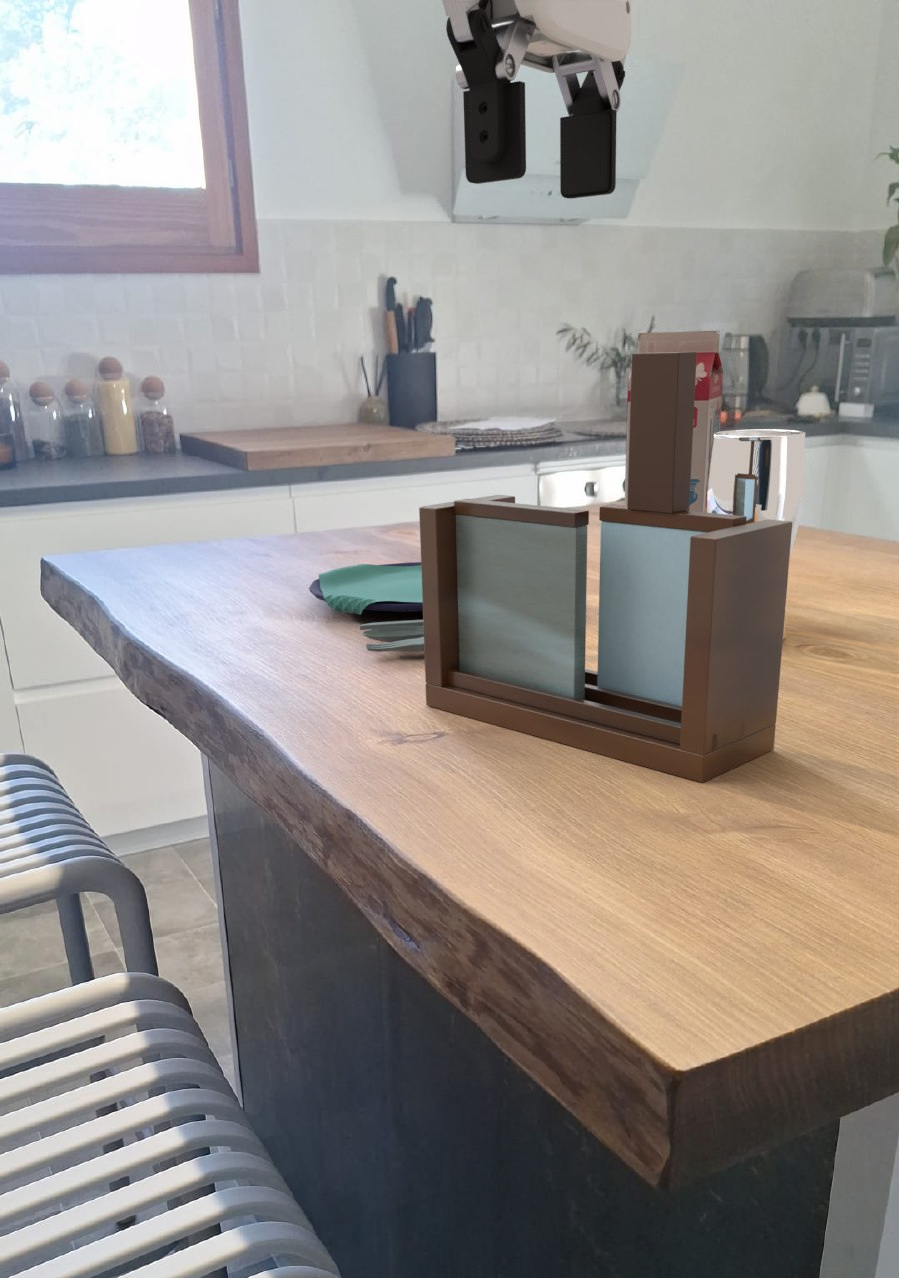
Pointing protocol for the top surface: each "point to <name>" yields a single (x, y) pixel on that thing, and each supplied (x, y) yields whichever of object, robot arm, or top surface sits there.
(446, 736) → the top surface
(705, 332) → the juice carton
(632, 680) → the sash
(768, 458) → the beer glass
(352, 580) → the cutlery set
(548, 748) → the top surface
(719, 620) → the window frame
